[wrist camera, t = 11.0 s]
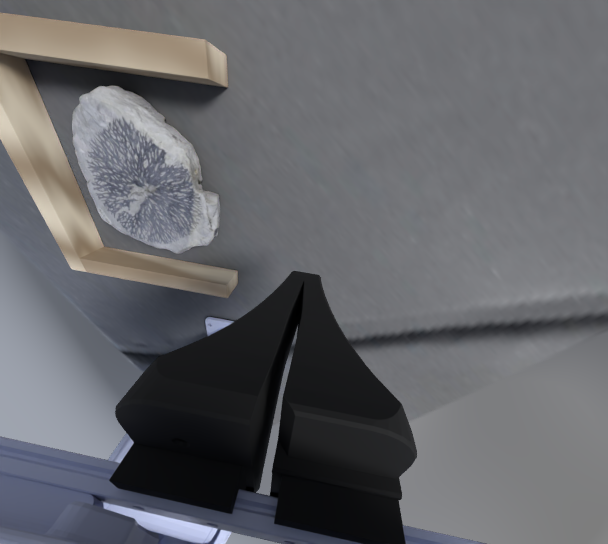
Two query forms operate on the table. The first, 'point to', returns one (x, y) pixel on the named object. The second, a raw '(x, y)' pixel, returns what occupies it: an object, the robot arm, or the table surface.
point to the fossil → (142, 171)
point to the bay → (50, 155)
